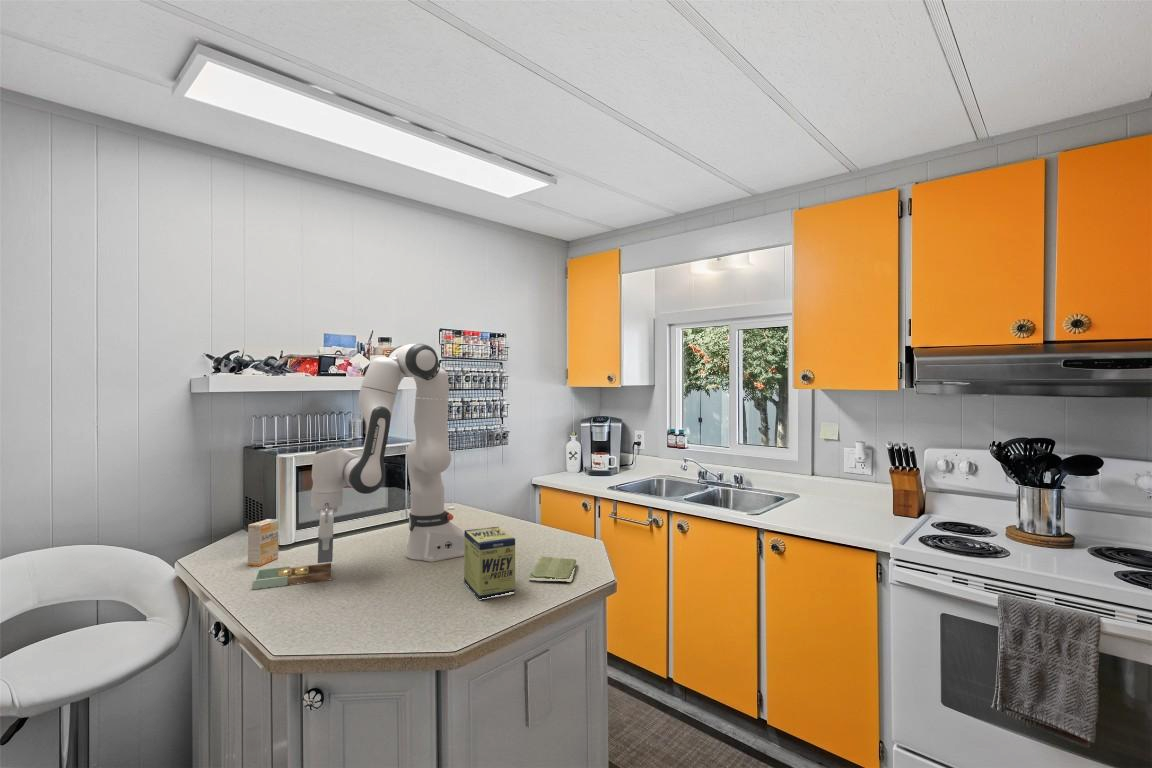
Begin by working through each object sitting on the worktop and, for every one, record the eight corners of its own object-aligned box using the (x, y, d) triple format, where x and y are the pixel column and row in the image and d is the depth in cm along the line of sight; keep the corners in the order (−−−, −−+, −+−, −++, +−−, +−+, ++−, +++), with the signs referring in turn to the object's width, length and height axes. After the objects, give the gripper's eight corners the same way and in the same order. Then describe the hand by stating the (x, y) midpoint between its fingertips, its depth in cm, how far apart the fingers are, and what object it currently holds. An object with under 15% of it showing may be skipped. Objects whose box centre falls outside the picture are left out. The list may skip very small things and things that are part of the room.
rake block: (332, 556, 170) (333, 527, 170) (332, 561, 165) (333, 531, 165) (317, 557, 169) (318, 528, 169) (317, 563, 164) (318, 532, 164)
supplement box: (260, 566, 174) (260, 525, 174) (247, 565, 175) (247, 524, 175) (279, 558, 182) (279, 519, 182) (266, 557, 183) (266, 518, 183)
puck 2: (308, 575, 167) (308, 565, 167) (308, 579, 164) (308, 569, 164) (295, 577, 165) (295, 567, 165) (294, 581, 162) (294, 570, 162)
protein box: (479, 601, 148) (479, 543, 148) (463, 582, 161) (463, 529, 161) (516, 594, 152) (516, 538, 152) (497, 577, 166) (497, 525, 166)
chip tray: (289, 574, 168) (289, 566, 168) (287, 585, 158) (287, 576, 158) (257, 578, 164) (257, 569, 164) (253, 589, 155) (253, 580, 155)
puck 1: (291, 577, 165) (291, 567, 165) (291, 581, 162) (291, 571, 162) (278, 579, 164) (278, 569, 163) (277, 583, 160) (277, 572, 160)
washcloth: (527, 583, 162) (527, 573, 162) (539, 564, 179) (539, 554, 179) (571, 586, 160) (571, 575, 160) (579, 566, 178) (579, 556, 178)
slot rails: (331, 569, 172) (331, 562, 172) (331, 579, 163) (331, 572, 163) (289, 574, 168) (289, 567, 168) (287, 585, 158) (287, 578, 158)
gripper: (338, 506, 159) (337, 555, 159) (337, 493, 177) (336, 536, 177) (314, 508, 156) (313, 557, 156) (316, 494, 175) (314, 538, 175)
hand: (325, 546), depth 167 cm, fingers closed on rake block, 5 cm apart
